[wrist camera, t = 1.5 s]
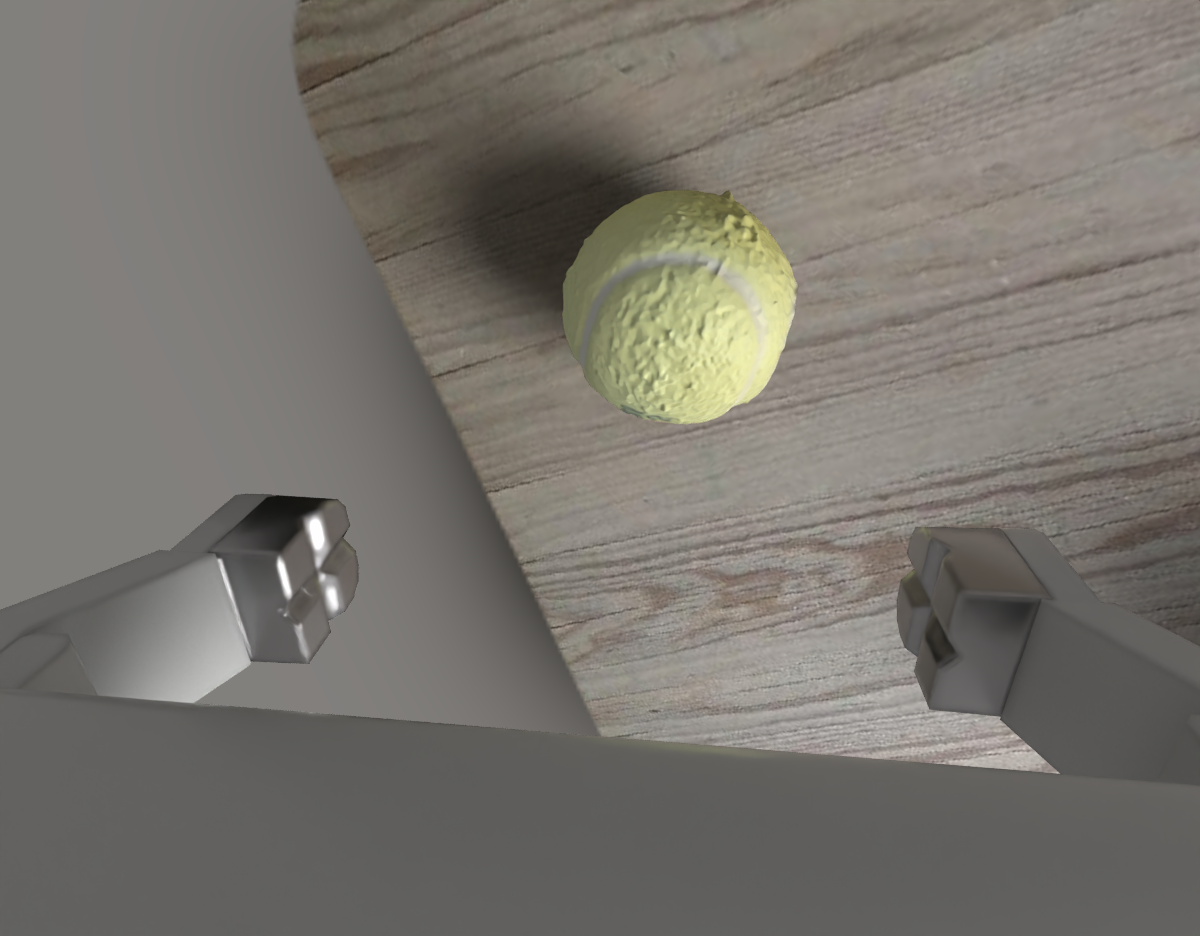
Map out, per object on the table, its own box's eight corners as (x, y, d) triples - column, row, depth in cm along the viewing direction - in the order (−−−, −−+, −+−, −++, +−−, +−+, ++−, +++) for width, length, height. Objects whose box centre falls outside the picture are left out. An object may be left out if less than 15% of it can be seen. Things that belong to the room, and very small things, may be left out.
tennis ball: (554, 336, 24) (511, 411, 18) (621, 138, 21) (594, 152, 15) (724, 401, 25) (734, 495, 19) (814, 216, 22) (860, 259, 16)
